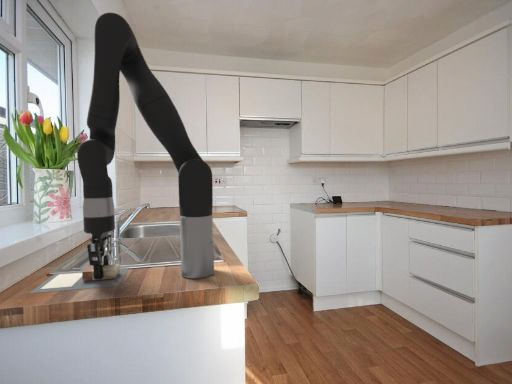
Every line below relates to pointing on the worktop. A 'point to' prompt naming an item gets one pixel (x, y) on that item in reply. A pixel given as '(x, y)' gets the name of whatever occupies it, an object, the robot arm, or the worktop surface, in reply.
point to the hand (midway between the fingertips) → (101, 275)
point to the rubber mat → (77, 282)
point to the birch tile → (108, 272)
